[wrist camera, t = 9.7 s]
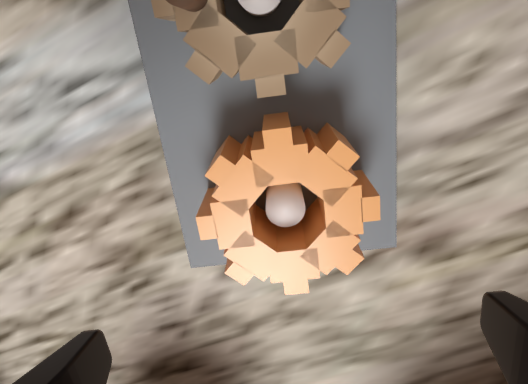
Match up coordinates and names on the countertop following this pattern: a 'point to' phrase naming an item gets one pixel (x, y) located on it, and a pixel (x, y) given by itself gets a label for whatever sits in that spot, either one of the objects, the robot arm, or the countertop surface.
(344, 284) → the countertop surface
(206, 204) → the orange gear
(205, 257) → the gear board
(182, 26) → the birch gear
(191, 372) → the countertop surface
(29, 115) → the countertop surface
